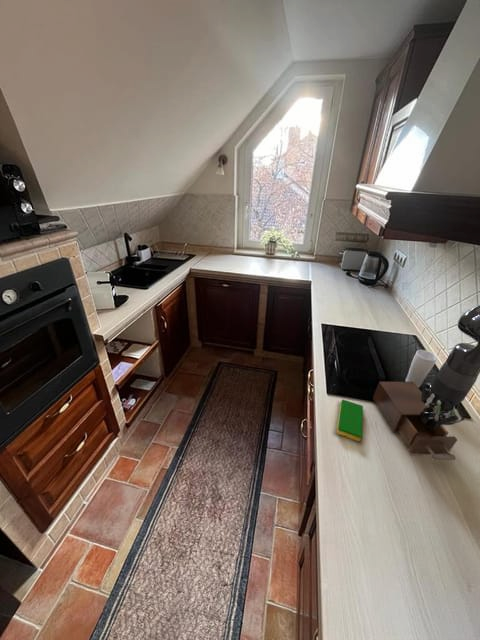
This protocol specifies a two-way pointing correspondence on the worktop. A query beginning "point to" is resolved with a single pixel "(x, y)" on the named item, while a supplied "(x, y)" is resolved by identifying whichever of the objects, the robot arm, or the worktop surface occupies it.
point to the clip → (426, 418)
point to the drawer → (426, 439)
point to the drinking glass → (420, 367)
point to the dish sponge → (350, 420)
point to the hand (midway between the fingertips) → (428, 422)
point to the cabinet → (398, 401)
